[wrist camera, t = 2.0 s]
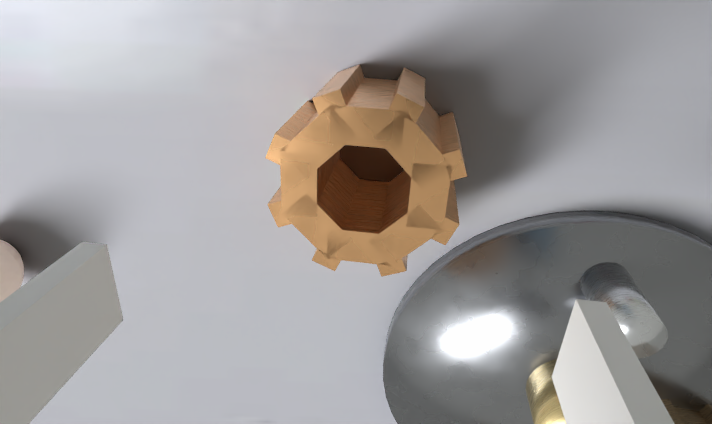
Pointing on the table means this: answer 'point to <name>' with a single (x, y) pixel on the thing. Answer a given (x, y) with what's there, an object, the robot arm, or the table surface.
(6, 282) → the egg
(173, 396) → the table surface
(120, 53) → the table surface
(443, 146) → the planet gear
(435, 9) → the table surface
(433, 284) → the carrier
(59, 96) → the table surface
